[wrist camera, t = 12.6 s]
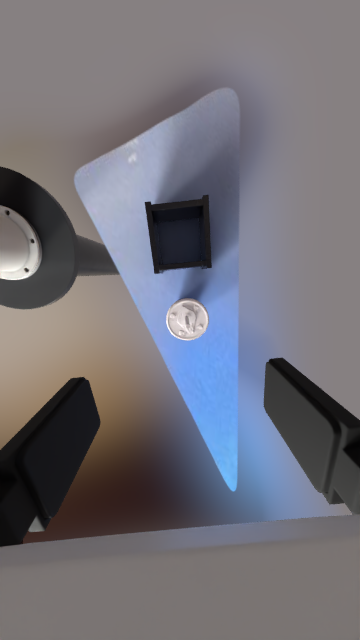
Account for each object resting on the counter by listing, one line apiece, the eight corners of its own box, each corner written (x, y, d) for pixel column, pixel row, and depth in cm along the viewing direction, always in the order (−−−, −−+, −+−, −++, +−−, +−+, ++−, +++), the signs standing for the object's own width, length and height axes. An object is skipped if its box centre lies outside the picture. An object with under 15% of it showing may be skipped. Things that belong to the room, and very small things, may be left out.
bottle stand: (159, 273, 32) (154, 273, 26) (151, 215, 29) (144, 202, 24) (205, 268, 32) (211, 267, 26) (202, 210, 29) (208, 194, 23)
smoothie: (195, 287, 33) (207, 297, 19) (205, 317, 34) (221, 345, 21) (165, 297, 33) (155, 314, 20) (175, 326, 35) (173, 360, 22)
